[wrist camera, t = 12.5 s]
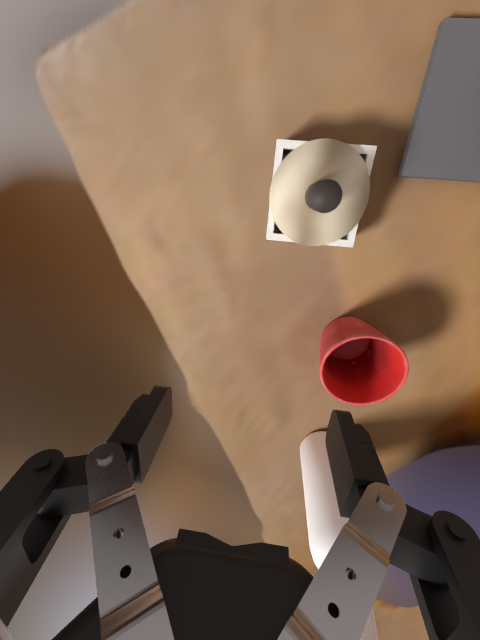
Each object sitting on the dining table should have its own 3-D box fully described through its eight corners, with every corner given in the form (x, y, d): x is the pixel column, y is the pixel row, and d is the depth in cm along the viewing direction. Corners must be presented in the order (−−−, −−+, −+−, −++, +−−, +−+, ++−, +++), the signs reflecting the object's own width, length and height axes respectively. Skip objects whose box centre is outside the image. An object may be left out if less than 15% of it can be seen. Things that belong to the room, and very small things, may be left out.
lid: (379, 142, 29) (403, 131, 24) (355, 248, 34) (369, 258, 29) (275, 137, 30) (275, 124, 25) (265, 241, 35) (263, 249, 29)
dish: (363, 152, 34) (377, 145, 29) (343, 241, 38) (352, 247, 34) (276, 146, 35) (276, 139, 30) (266, 234, 39) (265, 239, 35)
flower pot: (344, 292, 41) (363, 319, 33) (397, 333, 43) (428, 369, 34) (297, 341, 46) (302, 376, 37) (347, 376, 47) (363, 418, 38)
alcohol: (290, 448, 56) (306, 692, 28) (317, 421, 52) (364, 671, 25) (326, 467, 57) (375, 720, 29) (355, 442, 53) (441, 703, 26)
